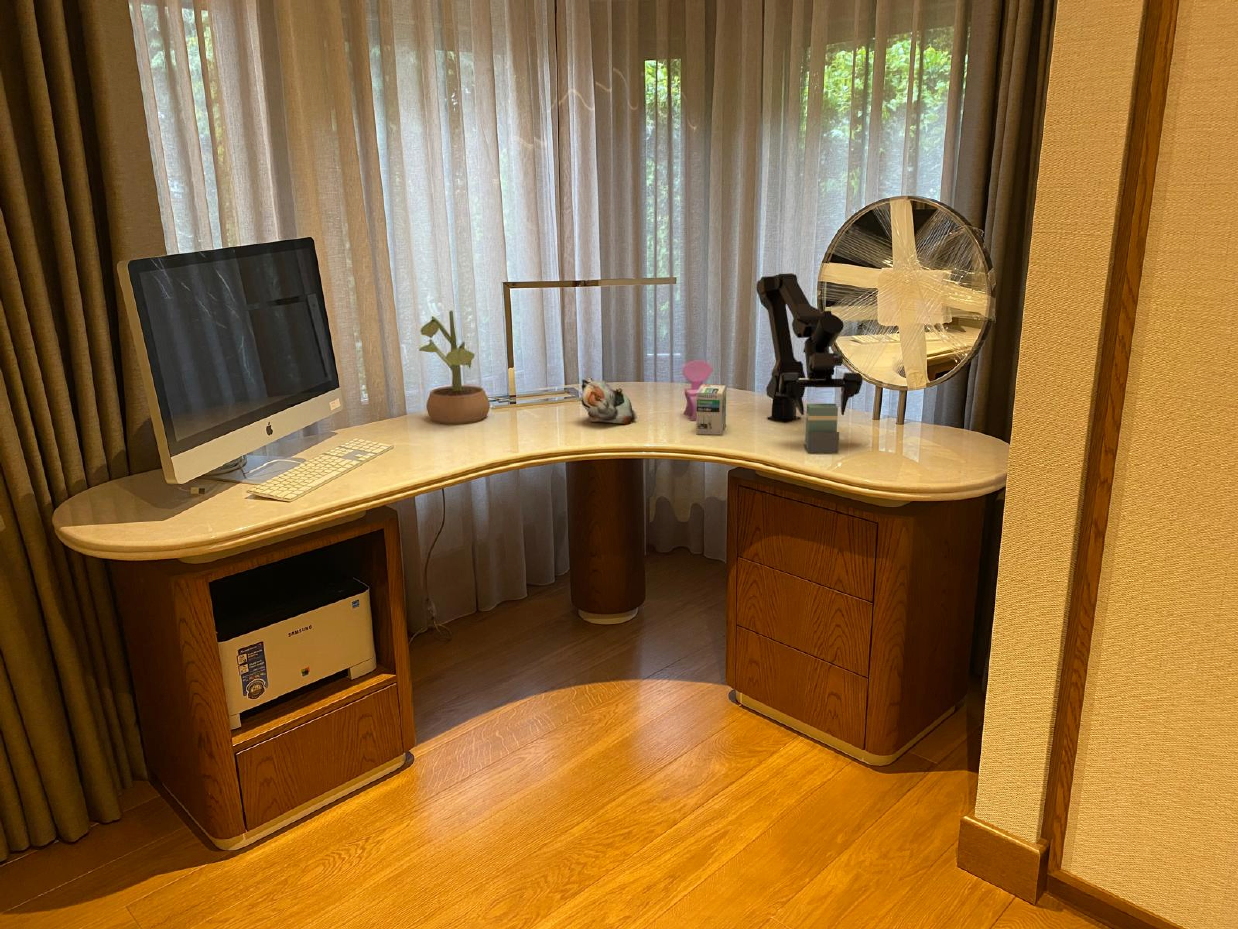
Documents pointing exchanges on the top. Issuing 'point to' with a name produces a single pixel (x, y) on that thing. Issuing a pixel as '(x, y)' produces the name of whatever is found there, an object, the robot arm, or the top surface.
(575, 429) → the top surface
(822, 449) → the bookend
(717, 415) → the light bulb box
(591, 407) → the lucky cat figurine
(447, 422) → the potted plant
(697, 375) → the toy chair
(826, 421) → the green striped box
